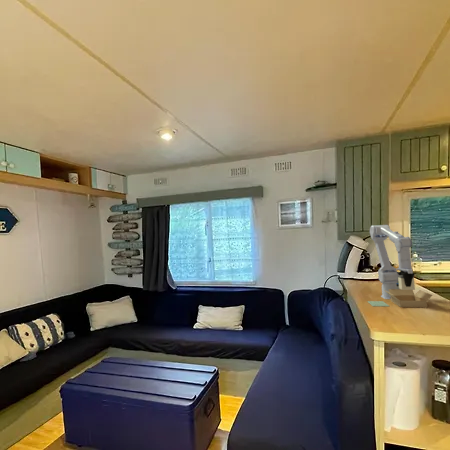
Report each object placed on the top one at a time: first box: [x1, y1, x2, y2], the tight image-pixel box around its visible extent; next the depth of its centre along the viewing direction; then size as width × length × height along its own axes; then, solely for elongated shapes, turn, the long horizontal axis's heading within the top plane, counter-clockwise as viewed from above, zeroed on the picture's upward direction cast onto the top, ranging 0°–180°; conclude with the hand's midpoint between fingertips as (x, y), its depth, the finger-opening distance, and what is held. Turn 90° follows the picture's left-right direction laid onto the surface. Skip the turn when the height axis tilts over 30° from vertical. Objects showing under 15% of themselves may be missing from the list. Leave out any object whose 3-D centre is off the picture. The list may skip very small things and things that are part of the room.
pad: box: [367, 300, 391, 307], centre depth 159 cm, size 12×8×1 cm, turn 167°
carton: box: [384, 289, 433, 308], centre depth 158 cm, size 18×18×6 cm
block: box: [398, 275, 416, 291], centre depth 157 cm, size 4×6×7 cm
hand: (406, 285), depth 157 cm, fingers closed on block, 4 cm apart
